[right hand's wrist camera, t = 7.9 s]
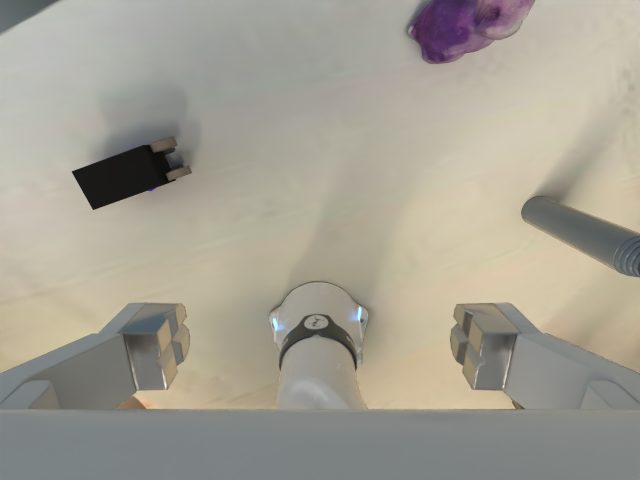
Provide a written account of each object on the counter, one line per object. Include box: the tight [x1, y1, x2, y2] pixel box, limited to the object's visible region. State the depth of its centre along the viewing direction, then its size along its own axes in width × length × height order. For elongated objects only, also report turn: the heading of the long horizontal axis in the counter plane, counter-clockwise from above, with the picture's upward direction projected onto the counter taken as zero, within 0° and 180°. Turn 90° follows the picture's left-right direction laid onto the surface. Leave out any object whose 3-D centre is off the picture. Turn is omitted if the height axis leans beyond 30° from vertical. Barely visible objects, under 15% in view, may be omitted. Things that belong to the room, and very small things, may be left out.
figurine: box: [408, 0, 535, 64], centre depth 41 cm, size 9×10×15 cm
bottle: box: [522, 196, 640, 277], centre depth 46 cm, size 5×5×25 cm
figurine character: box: [72, 137, 192, 210], centre depth 52 cm, size 7×8×15 cm
